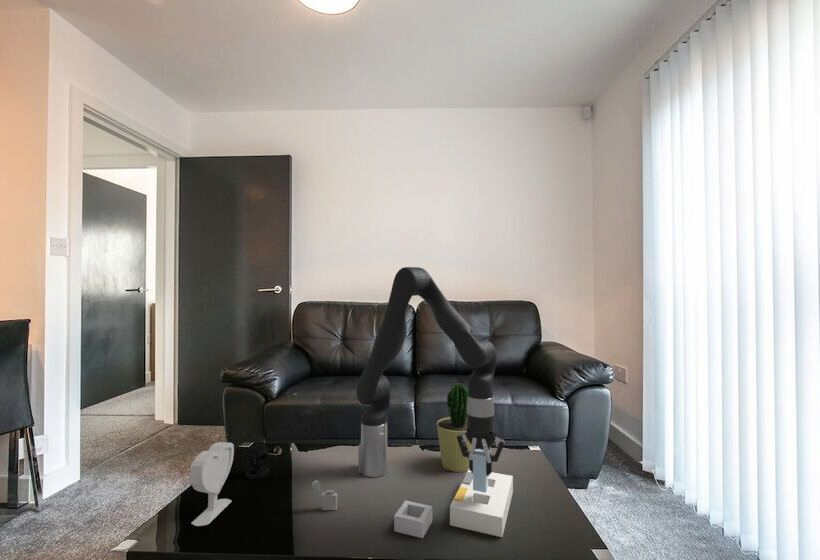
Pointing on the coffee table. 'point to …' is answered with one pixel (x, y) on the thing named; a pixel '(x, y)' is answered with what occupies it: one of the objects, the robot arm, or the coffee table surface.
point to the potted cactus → (454, 430)
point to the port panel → (482, 505)
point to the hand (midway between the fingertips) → (480, 473)
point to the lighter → (326, 497)
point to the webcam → (257, 462)
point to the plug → (479, 471)
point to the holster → (413, 519)
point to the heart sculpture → (212, 478)
